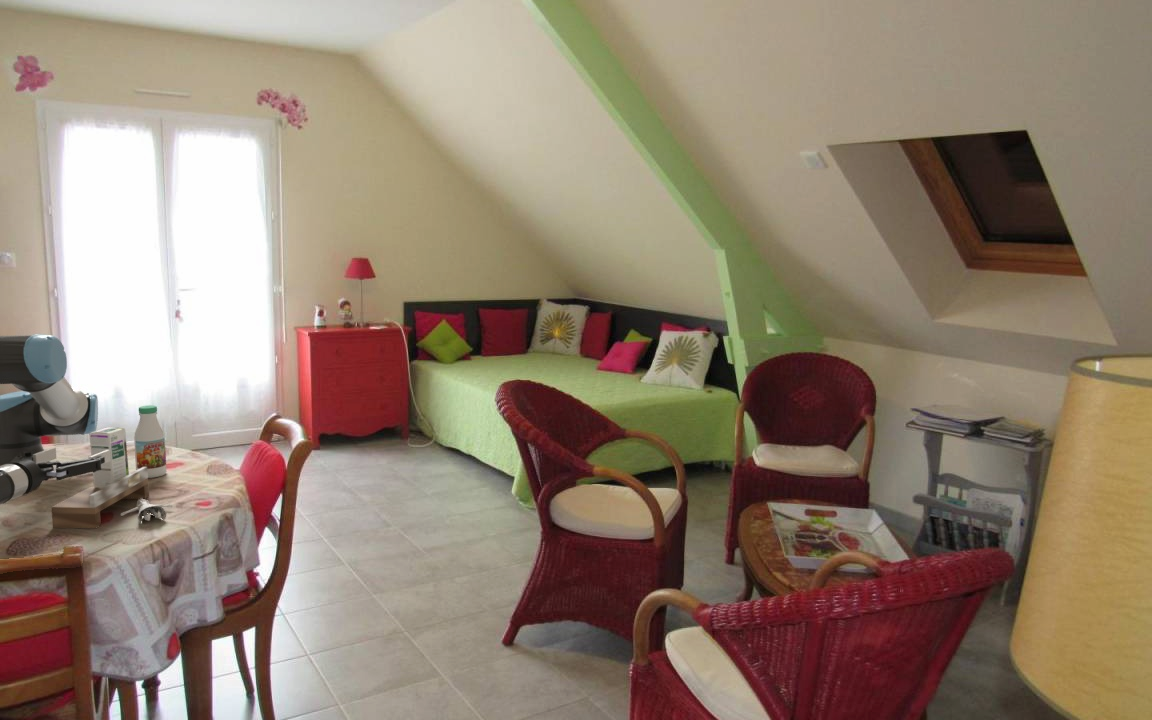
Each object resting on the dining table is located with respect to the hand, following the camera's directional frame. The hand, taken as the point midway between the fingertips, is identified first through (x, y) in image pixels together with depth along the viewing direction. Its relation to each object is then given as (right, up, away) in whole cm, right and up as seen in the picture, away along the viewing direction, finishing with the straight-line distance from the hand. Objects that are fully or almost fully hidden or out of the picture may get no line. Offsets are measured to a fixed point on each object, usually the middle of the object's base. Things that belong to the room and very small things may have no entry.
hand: (81, 454), depth 192 cm
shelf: (+1, -15, +7) cm, 17 cm away
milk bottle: (-3, -11, +38) cm, 39 cm away
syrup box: (+1, -9, +11) cm, 15 cm away
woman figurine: (+13, -16, +5) cm, 21 cm away
